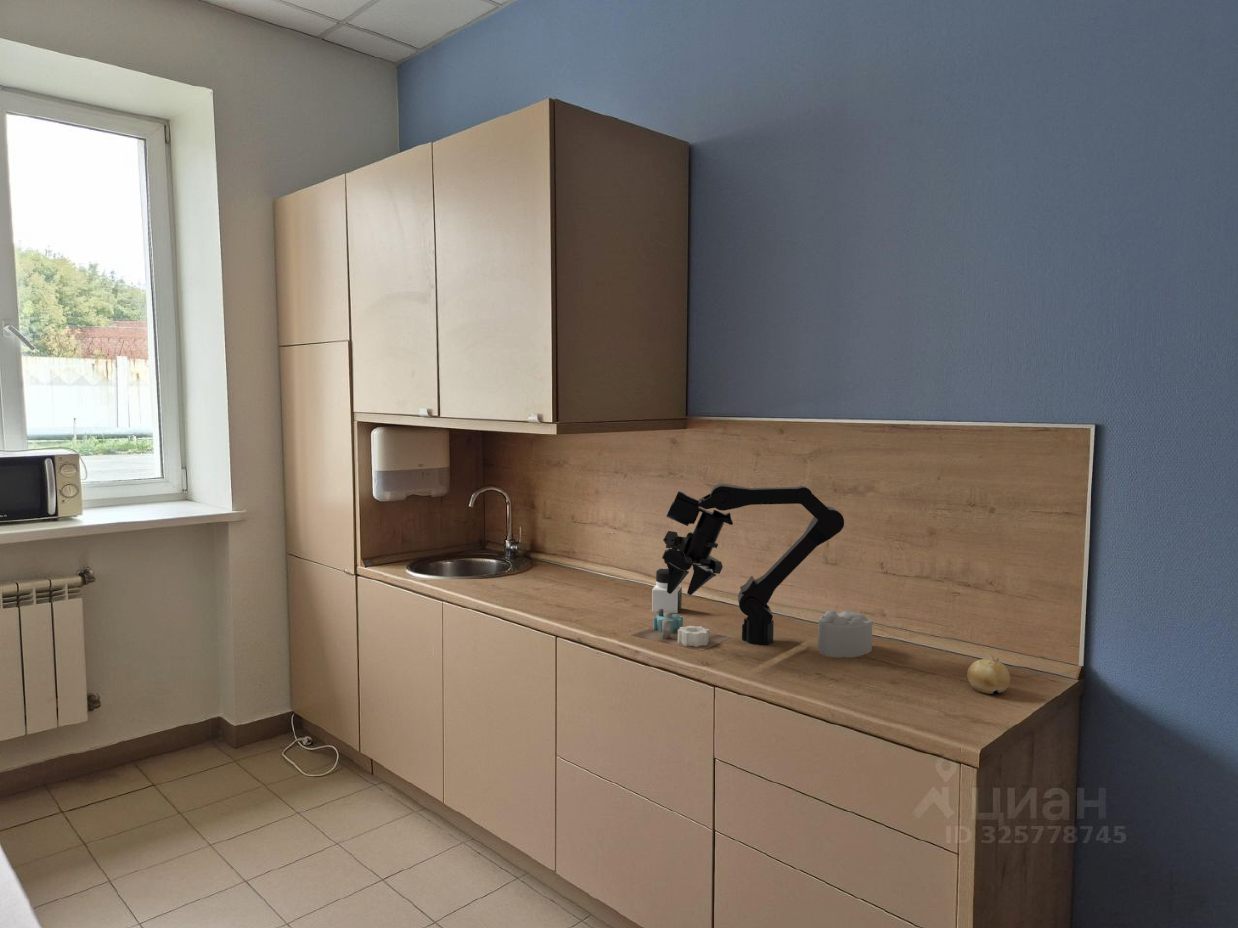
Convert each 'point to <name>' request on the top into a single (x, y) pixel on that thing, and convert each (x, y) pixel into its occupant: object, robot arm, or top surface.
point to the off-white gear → (693, 636)
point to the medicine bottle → (665, 594)
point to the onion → (988, 676)
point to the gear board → (676, 635)
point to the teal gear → (675, 620)
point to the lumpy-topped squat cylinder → (844, 634)
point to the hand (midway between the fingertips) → (679, 593)
